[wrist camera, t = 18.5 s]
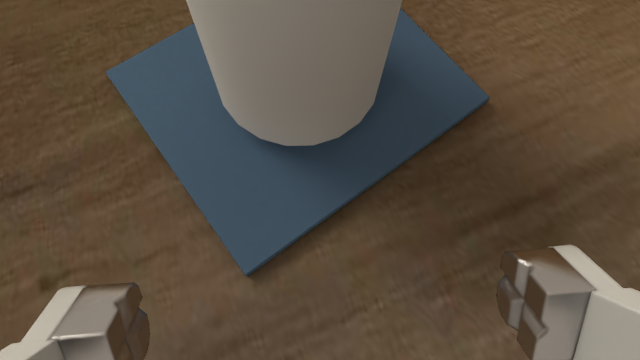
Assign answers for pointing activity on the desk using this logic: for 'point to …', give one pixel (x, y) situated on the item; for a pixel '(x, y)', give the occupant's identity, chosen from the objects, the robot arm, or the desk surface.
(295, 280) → the desk surface
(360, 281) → the desk surface
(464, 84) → the mat
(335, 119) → the can
